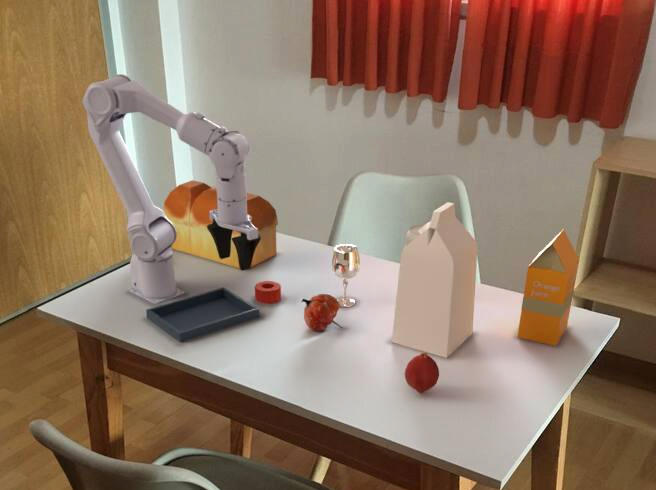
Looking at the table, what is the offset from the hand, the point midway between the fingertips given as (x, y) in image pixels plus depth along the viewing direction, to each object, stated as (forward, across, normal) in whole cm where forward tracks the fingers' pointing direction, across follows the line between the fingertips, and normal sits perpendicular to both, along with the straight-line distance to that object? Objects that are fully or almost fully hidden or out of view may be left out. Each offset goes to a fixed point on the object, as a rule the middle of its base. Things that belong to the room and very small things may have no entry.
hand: (235, 263), depth 167 cm
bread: (+10, +28, -14) cm, 33 cm away
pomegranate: (+10, -19, -8) cm, 23 cm away
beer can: (+10, -20, -33) cm, 40 cm away
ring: (+9, -2, -7) cm, 12 cm away
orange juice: (+10, -47, -41) cm, 63 cm away
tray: (+9, -1, +9) cm, 13 cm away
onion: (+10, -49, -6) cm, 50 cm away
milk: (+10, -35, -22) cm, 43 cm away
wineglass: (+10, -12, -19) cm, 25 cm away
